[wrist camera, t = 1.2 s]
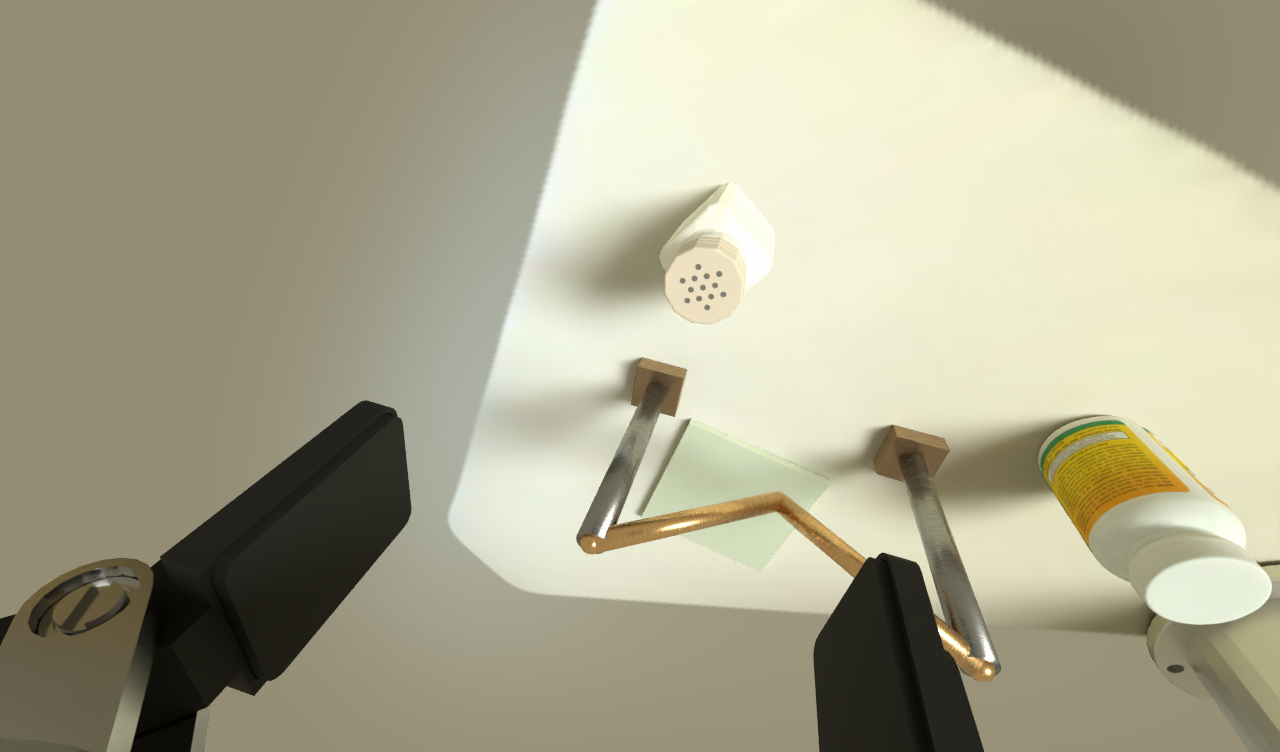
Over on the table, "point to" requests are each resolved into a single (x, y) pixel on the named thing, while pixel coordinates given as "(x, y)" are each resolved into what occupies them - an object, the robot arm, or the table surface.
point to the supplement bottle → (1153, 521)
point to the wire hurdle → (798, 514)
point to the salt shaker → (717, 256)
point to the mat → (732, 491)
